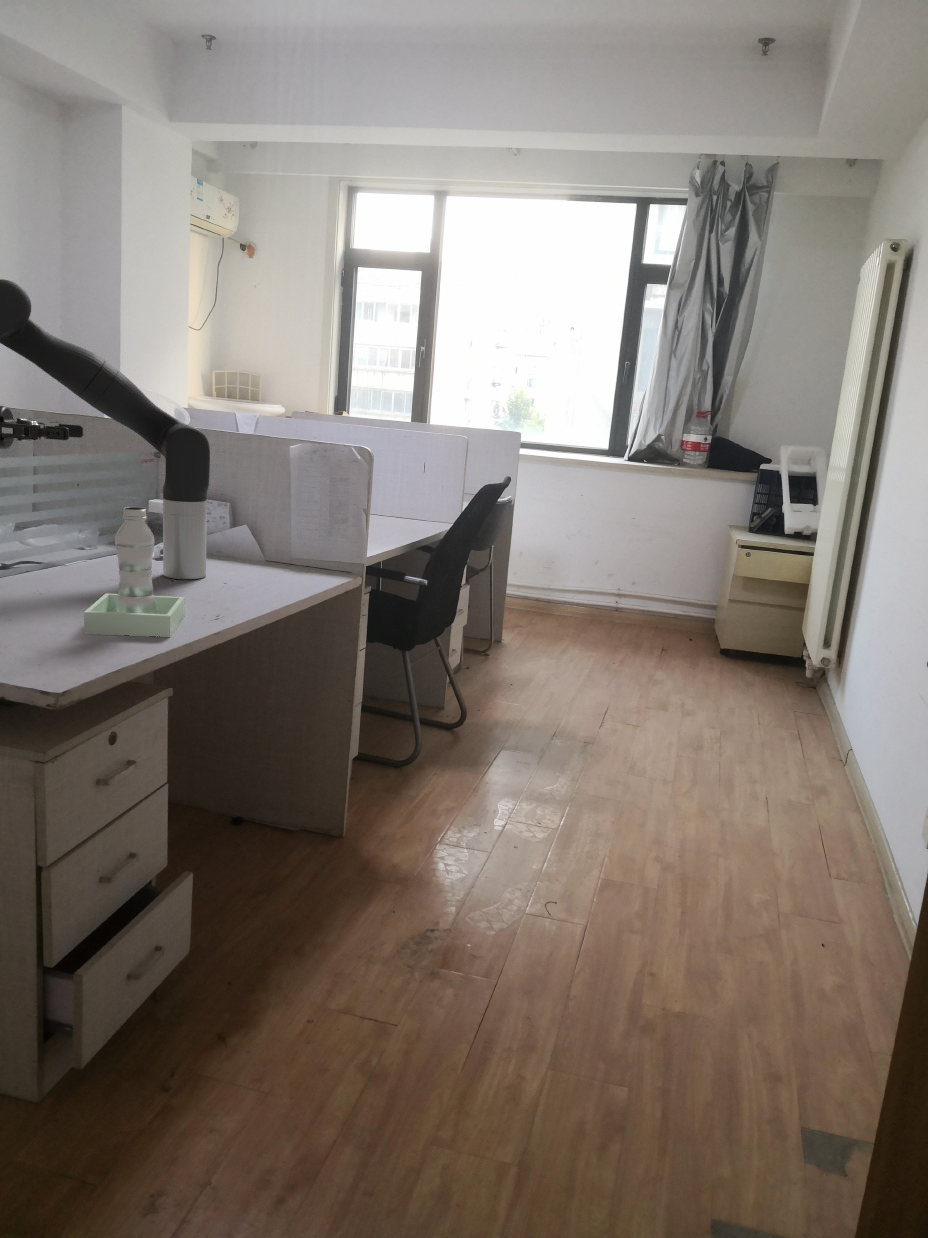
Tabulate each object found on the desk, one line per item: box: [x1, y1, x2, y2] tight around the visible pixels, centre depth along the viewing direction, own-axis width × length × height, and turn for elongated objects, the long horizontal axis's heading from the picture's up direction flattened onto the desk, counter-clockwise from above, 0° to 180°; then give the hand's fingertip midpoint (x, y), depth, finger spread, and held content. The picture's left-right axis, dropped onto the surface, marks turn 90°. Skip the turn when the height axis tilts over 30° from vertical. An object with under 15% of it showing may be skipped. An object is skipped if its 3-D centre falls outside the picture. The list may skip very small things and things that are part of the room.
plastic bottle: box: [114, 506, 156, 614], centre depth 153 cm, size 6×7×20 cm
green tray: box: [83, 592, 186, 638], centre depth 155 cm, size 14×14×4 cm
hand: (75, 432), depth 158 cm, fingers open, 8 cm apart
